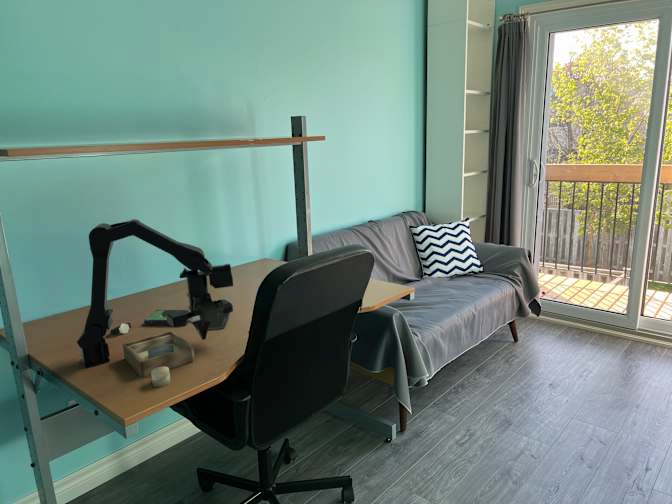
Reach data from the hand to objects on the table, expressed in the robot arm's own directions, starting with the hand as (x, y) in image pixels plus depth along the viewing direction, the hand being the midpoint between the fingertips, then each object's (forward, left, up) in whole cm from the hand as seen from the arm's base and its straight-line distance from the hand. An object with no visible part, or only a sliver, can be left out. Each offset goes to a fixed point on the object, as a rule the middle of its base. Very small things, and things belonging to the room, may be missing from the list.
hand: (203, 339), depth 151 cm
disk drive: (+1, +29, -3) cm, 29 cm away
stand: (-18, -14, -2) cm, 23 cm away
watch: (-16, +30, -3) cm, 34 cm away
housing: (-14, 0, -2) cm, 14 cm away
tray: (-13, 0, -2) cm, 13 cm away
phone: (+12, +17, -3) cm, 21 cm away
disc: (-13, 0, -1) cm, 13 cm away
